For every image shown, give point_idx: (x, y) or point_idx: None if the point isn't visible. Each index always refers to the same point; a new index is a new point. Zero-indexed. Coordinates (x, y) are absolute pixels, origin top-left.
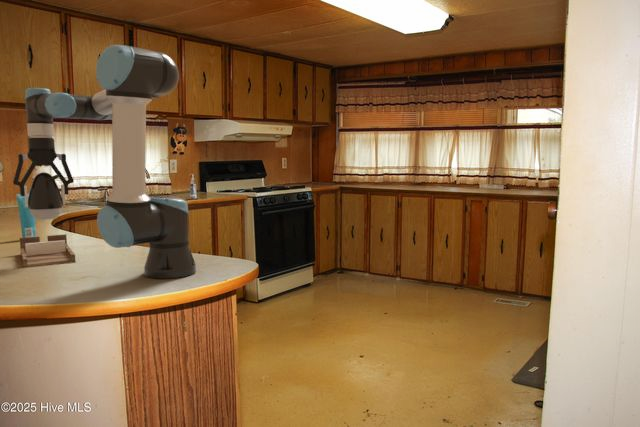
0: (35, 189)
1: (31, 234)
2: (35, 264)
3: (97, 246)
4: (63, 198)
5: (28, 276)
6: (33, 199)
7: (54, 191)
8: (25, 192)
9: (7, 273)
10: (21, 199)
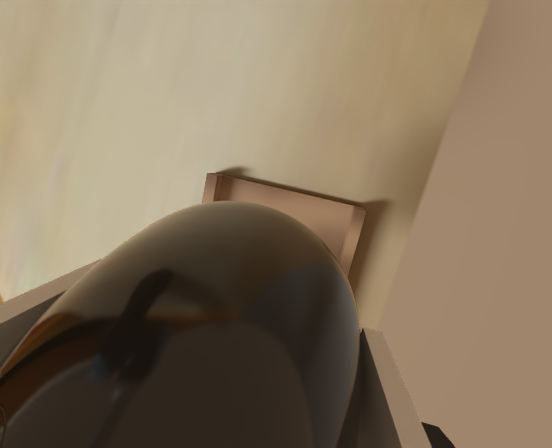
0: (319, 375)
1: None
2: (329, 200)
3: None
4: (70, 282)
5: (400, 52)
6: (343, 303)
7: (99, 272)
8: (417, 436)
9: (431, 152)
10: None
